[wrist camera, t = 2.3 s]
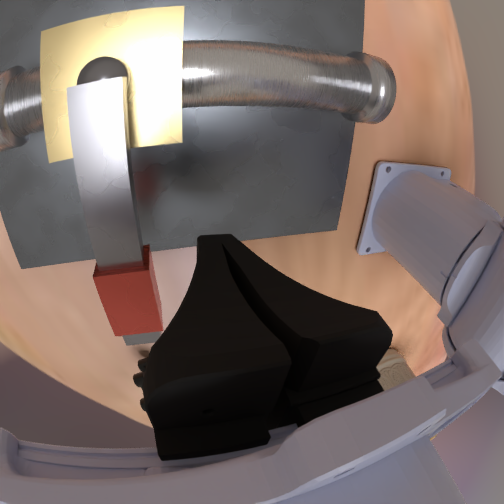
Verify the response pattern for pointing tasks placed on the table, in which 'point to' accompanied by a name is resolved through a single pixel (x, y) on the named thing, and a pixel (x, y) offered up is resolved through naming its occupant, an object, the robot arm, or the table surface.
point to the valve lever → (112, 200)
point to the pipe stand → (188, 116)
